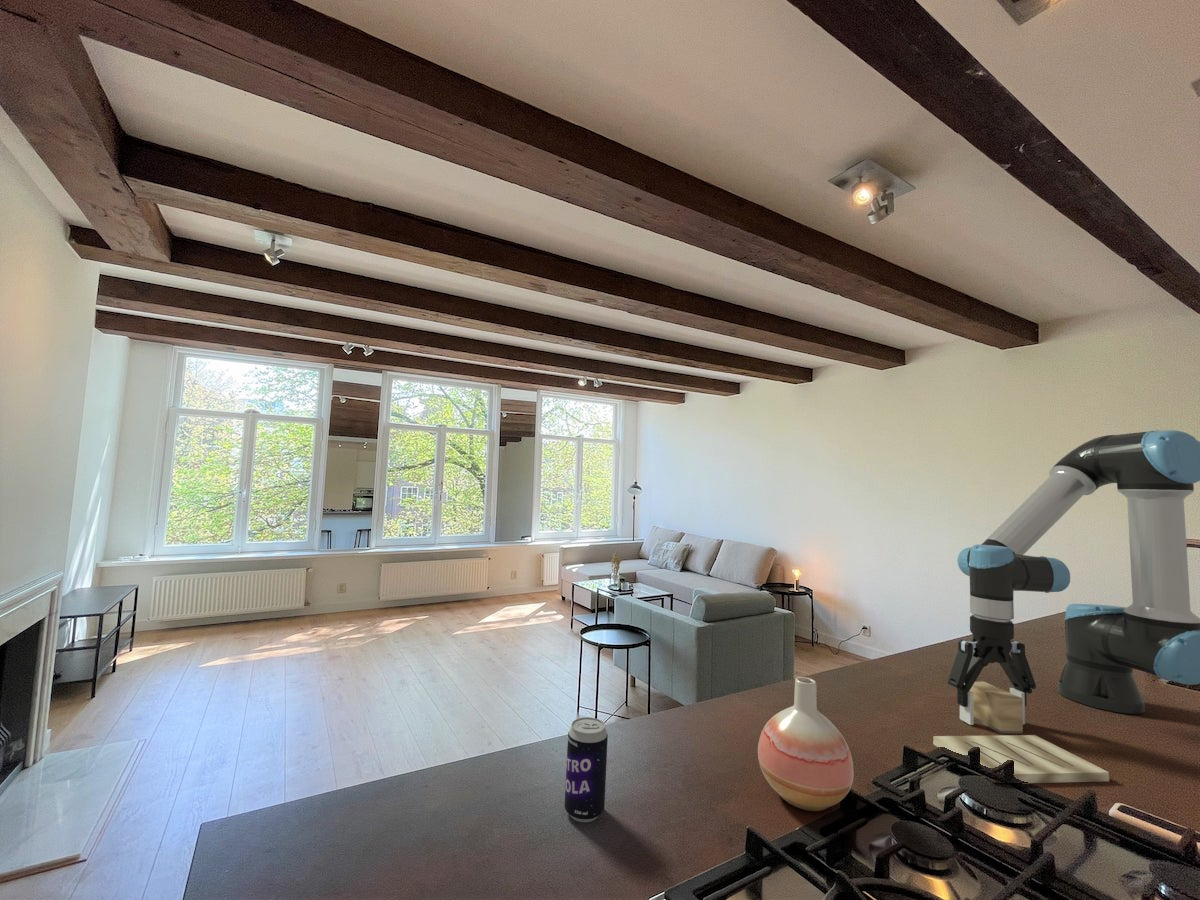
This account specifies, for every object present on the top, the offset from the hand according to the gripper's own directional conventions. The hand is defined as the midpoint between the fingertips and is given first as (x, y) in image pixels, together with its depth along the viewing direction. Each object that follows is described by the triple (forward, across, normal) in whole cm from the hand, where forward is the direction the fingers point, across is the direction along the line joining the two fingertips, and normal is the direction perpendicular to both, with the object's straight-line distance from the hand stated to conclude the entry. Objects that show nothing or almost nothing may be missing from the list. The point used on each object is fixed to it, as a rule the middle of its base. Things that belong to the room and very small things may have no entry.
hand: (992, 721), depth 108 cm
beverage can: (0, +90, +26) cm, 94 cm away
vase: (0, +56, +24) cm, 61 cm away
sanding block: (0, 0, 0) cm, 0 cm away
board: (0, +10, +15) cm, 18 cm away
